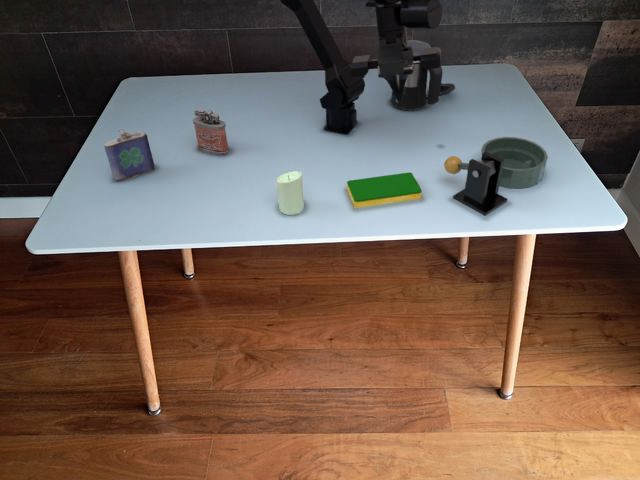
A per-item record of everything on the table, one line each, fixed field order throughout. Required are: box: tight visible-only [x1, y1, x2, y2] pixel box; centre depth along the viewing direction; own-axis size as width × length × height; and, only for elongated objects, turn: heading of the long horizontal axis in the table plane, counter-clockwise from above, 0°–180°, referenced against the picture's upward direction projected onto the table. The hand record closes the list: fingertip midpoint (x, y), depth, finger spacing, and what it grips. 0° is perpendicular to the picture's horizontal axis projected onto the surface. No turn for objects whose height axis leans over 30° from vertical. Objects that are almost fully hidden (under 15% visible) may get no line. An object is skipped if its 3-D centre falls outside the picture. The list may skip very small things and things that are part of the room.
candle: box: [276, 171, 305, 216], centre depth 115 cm, size 5×5×8 cm
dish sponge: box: [346, 171, 422, 210], centre depth 120 cm, size 7×14×2 cm, turn 101°
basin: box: [478, 136, 548, 189], centre depth 123 cm, size 13×13×5 cm
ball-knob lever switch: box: [452, 151, 509, 217], centre depth 114 cm, size 8×7×10 cm
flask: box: [103, 128, 156, 182], centre depth 126 cm, size 9×3×11 cm, turn 121°
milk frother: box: [390, 39, 456, 111], centre depth 148 cm, size 14×16×15 cm
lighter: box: [192, 108, 230, 157], centre depth 133 cm, size 8×3×10 cm, turn 65°
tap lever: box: [443, 155, 496, 176], centre depth 116 cm, size 11×4×4 cm, turn 40°
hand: (399, 100), depth 128 cm, fingers closed
